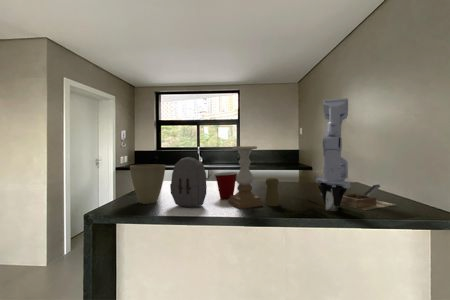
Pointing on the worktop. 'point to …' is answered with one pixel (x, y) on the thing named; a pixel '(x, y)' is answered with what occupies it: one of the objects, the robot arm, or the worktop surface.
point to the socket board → (363, 202)
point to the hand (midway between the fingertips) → (332, 204)
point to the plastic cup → (226, 184)
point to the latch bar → (372, 190)
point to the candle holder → (244, 182)
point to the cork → (272, 192)
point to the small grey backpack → (188, 183)
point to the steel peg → (330, 201)
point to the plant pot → (147, 181)
